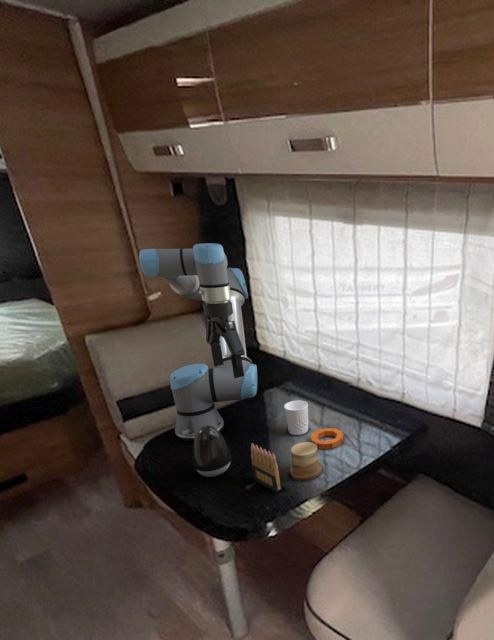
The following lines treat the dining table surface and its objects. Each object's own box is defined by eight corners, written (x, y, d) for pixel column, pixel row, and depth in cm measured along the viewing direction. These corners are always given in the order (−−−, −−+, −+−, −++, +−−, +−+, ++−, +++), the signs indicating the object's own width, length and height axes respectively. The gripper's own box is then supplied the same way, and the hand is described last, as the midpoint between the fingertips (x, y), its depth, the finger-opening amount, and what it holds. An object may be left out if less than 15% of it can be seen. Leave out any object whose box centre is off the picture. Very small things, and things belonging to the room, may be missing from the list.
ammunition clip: (282, 488, 117) (277, 452, 112) (277, 492, 115) (272, 455, 111) (258, 475, 122) (252, 440, 118) (252, 478, 121) (247, 443, 116)
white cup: (282, 432, 146) (279, 407, 142) (297, 423, 152) (295, 398, 148) (299, 438, 142) (296, 412, 138) (314, 428, 149) (312, 403, 145)
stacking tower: (284, 471, 125) (281, 448, 121) (310, 459, 131) (308, 437, 128) (301, 484, 119) (299, 460, 116) (328, 471, 125) (326, 448, 122)
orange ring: (305, 440, 141) (304, 435, 140) (330, 430, 148) (330, 425, 147) (323, 452, 135) (323, 447, 134) (349, 440, 142) (348, 435, 141)
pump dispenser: (204, 486, 117) (194, 439, 111) (190, 471, 124) (179, 426, 118) (239, 471, 124) (232, 426, 118) (224, 458, 130) (216, 414, 125)
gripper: (186, 296, 123) (199, 363, 132) (223, 310, 108) (235, 385, 116) (211, 293, 128) (222, 358, 137) (250, 306, 113) (260, 378, 121)
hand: (228, 370), depth 126 cm, fingers open, 13 cm apart
